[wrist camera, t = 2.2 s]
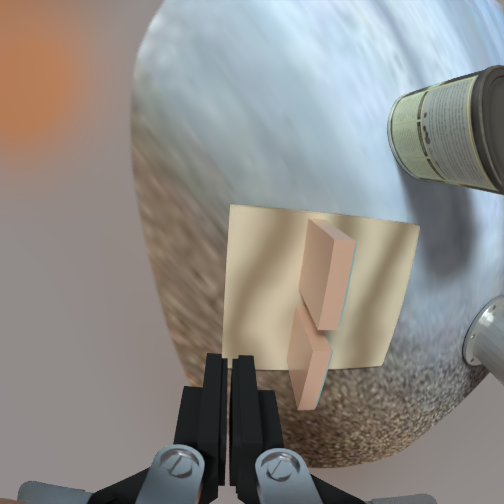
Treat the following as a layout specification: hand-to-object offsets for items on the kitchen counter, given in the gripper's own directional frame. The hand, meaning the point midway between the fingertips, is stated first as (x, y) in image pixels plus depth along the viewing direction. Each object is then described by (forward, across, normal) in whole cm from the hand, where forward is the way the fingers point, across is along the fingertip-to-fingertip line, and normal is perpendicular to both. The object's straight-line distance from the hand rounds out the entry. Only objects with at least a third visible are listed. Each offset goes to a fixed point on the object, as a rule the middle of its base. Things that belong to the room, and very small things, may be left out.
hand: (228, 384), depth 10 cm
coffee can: (+19, -20, -14) cm, 31 cm away
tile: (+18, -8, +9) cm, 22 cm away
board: (+19, -10, +5) cm, 22 cm away
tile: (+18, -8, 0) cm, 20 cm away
